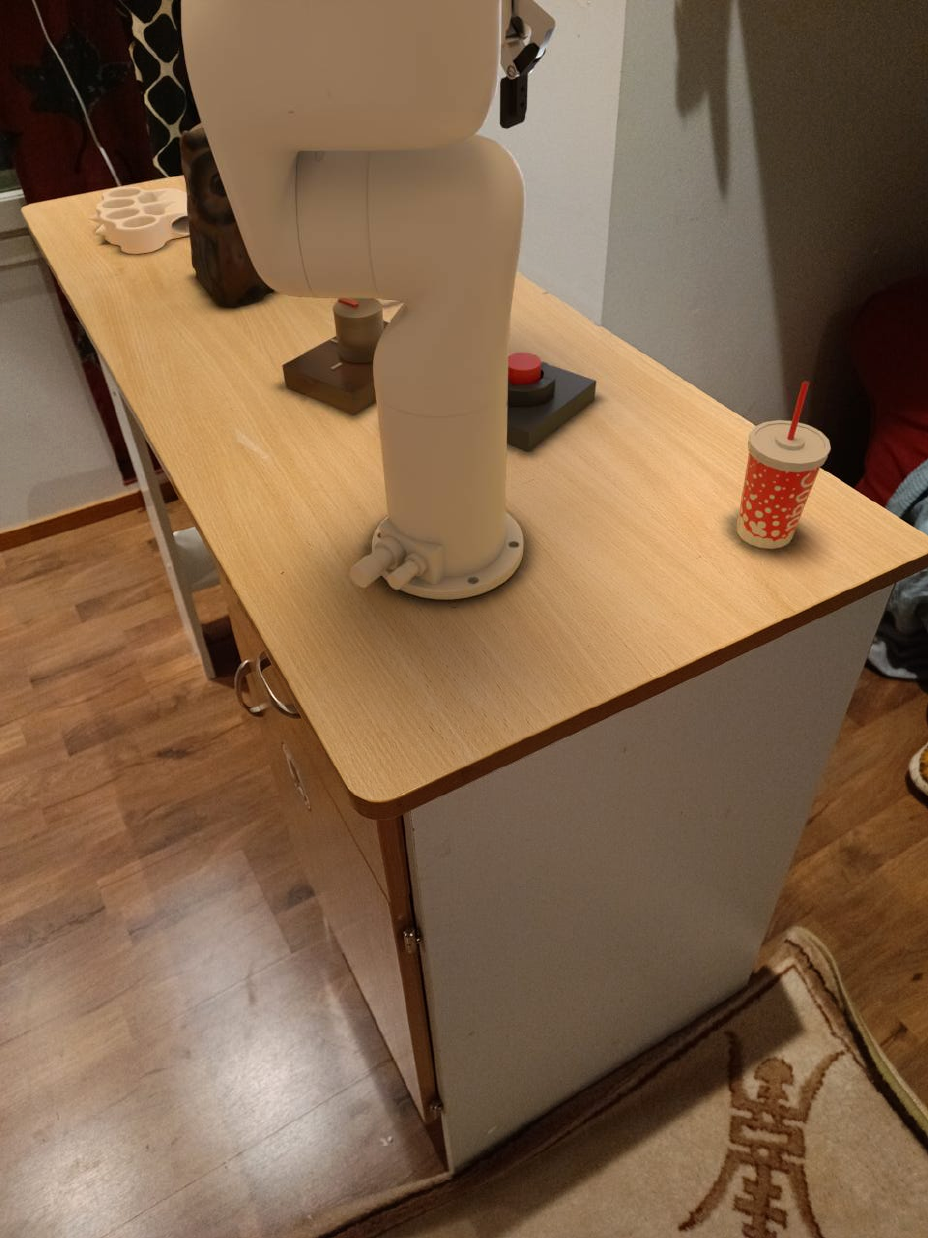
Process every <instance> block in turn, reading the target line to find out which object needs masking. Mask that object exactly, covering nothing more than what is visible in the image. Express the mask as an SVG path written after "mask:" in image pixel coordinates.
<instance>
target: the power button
mask: <svg viewBox="0 0 928 1238" xmlns="http://www.w3.org/2000/svg"><path fill="white" fill-rule="evenodd" d="M541 361H542V359H541V357H539V356H538V355H537V354H534V353H531V352H524V351H523V352H515V353H512V354H511V353H510V354H508V382H510V383H513V384H519V385H528V384H532V383H536V382H538V381H540V379H541Z"/></svg>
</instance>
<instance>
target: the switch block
mask: <svg viewBox="0 0 928 1238" xmlns="http://www.w3.org/2000/svg"><path fill="white" fill-rule="evenodd" d="M596 388H597V380H596V379H594V378H590V377H588V376H587V377H586V376H583V375H582V374H579V373H575V372H572V371H570V370H566V369H563V368H561V367H559V366H556V365H552V364H549V363H548V362H545V361H543V360H541V379H540V381H538V382H536V383H532V384H528V385H519V384H513V383H510V382H508V404H507V445H509V446H512V447H515V448H517V449H520V450H522V451H524V452H526V453H529V452H530V451H531V450H533V449H534V448H535V447H537V446H538V445H539V444H541V443H542V442H543V441H544V440H545V439H546V438H548V437H549V436H550V435H551V434H553V433H554V432H556V430H558V429H559V428H560V427H562V426H564V424H566V423H567V422H568V421H570V420H571V419H572V418H573V417H575V416H576V415H577V414H578V413H580V412H581V411H582V410H583V409H584V408H586V407H587V406H588V405H590V404H591V403H593V401H595V399H596Z"/></svg>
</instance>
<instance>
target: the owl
mask: <svg viewBox="0 0 928 1238" xmlns="http://www.w3.org/2000/svg"><path fill="white" fill-rule="evenodd" d="M179 149H180V157H181V159H180V160H181V161H180V162H181V163H180V165H181V171H182V176H183V178H184V183H185V192H186V193H187V215H188V224H189V234H190V235H189V243H190V255H191V256H190V257H191V258H190V259H191V266H192V268H193V270H194V271H195V278H196V279H197V280H198V281H199V283H201V285H202V286H203V288H204V289H205V290H207V292H208V295H209V296H210V297H213V298H214V300H215V303H216V304H217V305H218V306H221V307H223V308H226V309H237V308H239V307H244V306H248V305H251V304H255V303H259V302H261V301H263V300H264V299H265V296H266V295H267V294H271V293H274V292H275V290H273V289H272V288H271V287H269V286H268V285H267V284H266V283H265V282H264V281H263V280H262V279H261V277H260V276H259V274H258V273H257V271H256V269H255V267H254V266H253V263H252V261H251V259H250V257H249V254H248V252H247V249H246V246H245V244H244V241H243V238H242V236H241V233H240V230H239V227H238V224H237V221H236V219H235V216H234V213H233V210H232V207H231V204H230V201H229V199H228V196H227V193H226V190H225V187H224V185H223V182H222V179H221V176H220V173H219V170H218V168H217V165H216V162H215V159H214V156H213V153H212V151H211V148H210V145H209V142H208V139H207V136H206V134H205V131H204V128H203V125H202V122H201V121H200V123H199V124H197V125H195V126H194V127H192V128H191V129H190V130H183V131H182V133H181V136H180V138H179Z"/></svg>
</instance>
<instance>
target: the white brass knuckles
mask: <svg viewBox="0 0 928 1238" xmlns="http://www.w3.org/2000/svg"><path fill="white" fill-rule="evenodd" d="M88 220H90V221H93V222H94V223H97V224H99V225H100V226H99V227H98V228H97V229H96V230H95V231H94V232H93V234H94V235H100V236H104V239H105V241H107V242H108V243H110V244H111V245H115V246H119V247H120V251H121V252H122V253H125V254H131V255H141V254H149V253H152V252H155V251H158V250H160V249H162V248H163V247H164V246H165V244H166V243H167V242H169V241H171V240H174V239H179V238H185V237H188V236H190V234H189V224H188V215H187V192H186V191H183V190H181V189H179V188H177V187H175V188H173V187H163V188H157V189H143V188H142V187H138V186H121V187H115V188H112V189H108V190H106V191H104V192H102V194H101V201H100V202H98V203H97V205H96V207H95V214H92V216H91V217H89V218H88Z"/></svg>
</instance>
